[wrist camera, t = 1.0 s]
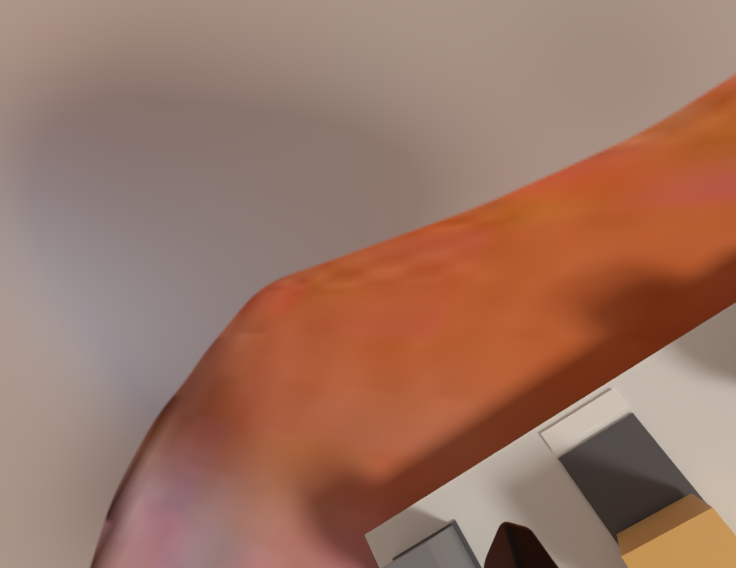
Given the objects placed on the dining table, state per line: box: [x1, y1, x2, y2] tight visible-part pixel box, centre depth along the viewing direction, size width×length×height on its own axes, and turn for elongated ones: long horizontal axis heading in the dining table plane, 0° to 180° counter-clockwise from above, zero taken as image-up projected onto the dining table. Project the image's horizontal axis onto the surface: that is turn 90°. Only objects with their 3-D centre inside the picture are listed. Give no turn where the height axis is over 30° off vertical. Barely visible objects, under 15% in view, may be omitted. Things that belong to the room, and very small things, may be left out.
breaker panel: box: [365, 303, 736, 568], centre depth 16 cm, size 12×22×6 cm, turn 121°
